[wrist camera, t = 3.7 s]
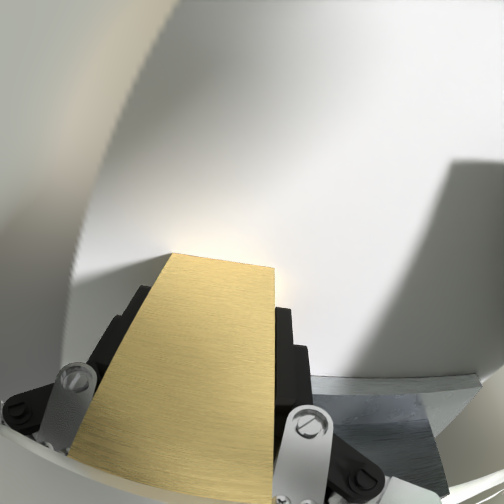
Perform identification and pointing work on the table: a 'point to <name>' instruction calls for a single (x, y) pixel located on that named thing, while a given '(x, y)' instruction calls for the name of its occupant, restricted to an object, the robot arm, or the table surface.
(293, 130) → the table surface
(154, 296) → the brass pin
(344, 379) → the collar block
